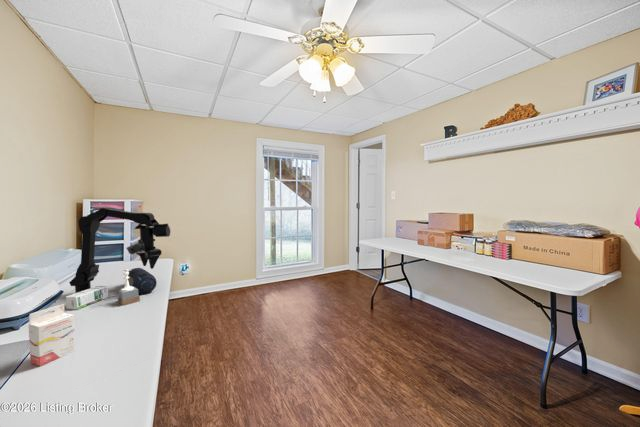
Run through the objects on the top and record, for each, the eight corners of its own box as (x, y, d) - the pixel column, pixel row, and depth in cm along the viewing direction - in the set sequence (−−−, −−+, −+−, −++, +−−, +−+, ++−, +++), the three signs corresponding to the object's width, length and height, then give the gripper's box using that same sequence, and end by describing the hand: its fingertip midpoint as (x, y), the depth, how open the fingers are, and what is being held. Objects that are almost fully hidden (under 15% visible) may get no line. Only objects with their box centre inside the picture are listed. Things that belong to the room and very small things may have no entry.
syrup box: (75, 297, 111) (108, 285, 125) (64, 296, 112) (98, 285, 126) (76, 310, 111) (109, 297, 125) (65, 309, 112) (99, 296, 126)
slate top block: (118, 296, 119) (118, 290, 119) (134, 292, 124) (133, 286, 124) (122, 299, 116) (122, 293, 115) (138, 295, 120) (138, 289, 120)
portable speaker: (124, 286, 142) (123, 268, 141) (145, 282, 149) (144, 264, 148) (135, 298, 125) (134, 277, 124) (159, 292, 132) (158, 273, 131)
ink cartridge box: (40, 367, 73) (36, 316, 72) (30, 363, 75) (26, 314, 74) (76, 350, 81) (73, 304, 81) (67, 347, 83) (64, 302, 82)
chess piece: (125, 288, 122) (124, 267, 121) (136, 287, 122) (135, 267, 121) (118, 292, 117) (116, 270, 116) (129, 291, 117) (127, 269, 117)
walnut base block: (118, 303, 119) (117, 296, 119) (135, 298, 125) (134, 292, 124) (122, 306, 115) (122, 300, 115) (139, 301, 121) (139, 295, 120)
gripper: (121, 237, 132) (123, 267, 132) (135, 241, 120) (136, 274, 121) (146, 235, 140) (147, 263, 141) (161, 238, 129) (162, 268, 130)
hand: (148, 267), depth 133 cm, fingers open, 9 cm apart
